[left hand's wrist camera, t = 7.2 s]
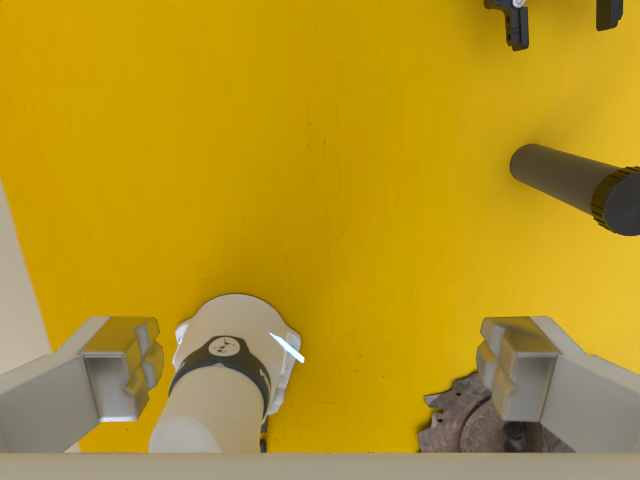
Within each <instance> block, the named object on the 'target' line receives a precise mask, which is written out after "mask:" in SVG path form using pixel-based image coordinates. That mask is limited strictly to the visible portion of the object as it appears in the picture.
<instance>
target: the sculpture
mask: <svg viewBox="0 0 640 480" xmlns="http://www.w3.org/2000/svg"><path fill="white" fill-rule="evenodd" d="M452 388H453V389H452V390H451V391H448V392H445V393H441V394H436V395H429V396H425V397H424V400H425V402H426V404H427V405H428V406H429V407H431V408H442V409H443V411H444V412H443V413H442V414H439V413H436V412H435V413H433V414H432V424H431V427H430V428H428V429H426V430H423V431H421V432H420V433H418V440H419V444H420V448H421V453H577V452H576V451H574V450H573V449H572V448H571V447H569V446H568V445H567V444H565V443H564V442H563V441H562V440H560V439H559V438H558V437H557V436H555V435H554V434H553V433H552V432H550V431H549V430H548V429H547V428H545V427H544V426H543V425H541V424H540V422H530V421H502V419H501V417H500V415H499V413H498V411H497V410H496V408H495V406H494V404H493V402H492V401H491V395H492V391H491V390H489V389H488V388H486V387H485V386H483V384H482V382H481V380H480V378H479V375H478V373H474V374H472V375H470V376H469V377H467V378H465V379H463V380H459V381H455V382H454V384H453V386H452ZM457 392H460V393H461V395H460V396H457V395H456V393H457ZM434 414H435V415H434ZM436 419H442V420H443V422H442V423H439V422H438V421H437V420H436Z"/></svg>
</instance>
